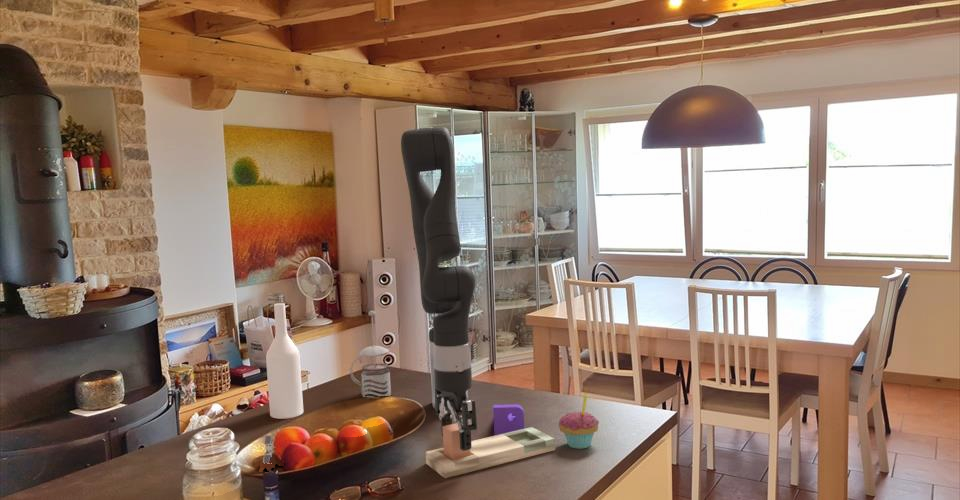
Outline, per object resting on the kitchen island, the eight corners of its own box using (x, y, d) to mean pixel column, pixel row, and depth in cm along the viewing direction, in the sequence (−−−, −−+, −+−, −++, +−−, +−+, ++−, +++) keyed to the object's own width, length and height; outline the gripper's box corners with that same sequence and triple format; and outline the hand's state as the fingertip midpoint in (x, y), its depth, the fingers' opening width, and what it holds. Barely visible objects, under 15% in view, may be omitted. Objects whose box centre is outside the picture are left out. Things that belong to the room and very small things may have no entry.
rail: (426, 463, 143) (425, 451, 143) (532, 437, 156) (531, 426, 155) (444, 478, 135) (444, 465, 135) (555, 449, 148) (554, 438, 147)
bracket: (524, 436, 158) (523, 406, 157) (494, 437, 158) (493, 407, 158) (524, 419, 170) (522, 391, 169) (496, 420, 170) (494, 392, 169)
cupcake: (602, 439, 153) (600, 386, 152) (595, 453, 145) (593, 397, 144) (563, 436, 155) (561, 384, 154) (555, 450, 147) (552, 395, 146)
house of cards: (295, 481, 138) (292, 443, 138) (251, 482, 138) (249, 445, 138) (307, 464, 147) (305, 428, 147) (266, 465, 147) (264, 430, 147)
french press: (392, 406, 184) (387, 312, 182) (349, 408, 184) (343, 314, 182) (397, 395, 194) (392, 306, 192) (356, 397, 194) (350, 308, 192)
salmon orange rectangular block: (444, 459, 142) (442, 426, 142) (461, 455, 144) (459, 422, 144) (452, 465, 139) (451, 431, 138) (470, 461, 141) (468, 427, 140)
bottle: (270, 418, 178) (262, 302, 175) (303, 414, 180) (295, 300, 177) (270, 428, 170) (262, 307, 167) (304, 424, 172) (296, 304, 170)
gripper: (421, 361, 145) (425, 437, 146) (451, 375, 132) (455, 458, 133) (453, 355, 148) (457, 429, 149) (485, 369, 136) (489, 449, 137)
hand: (456, 443), depth 141 cm, fingers open, 8 cm apart
